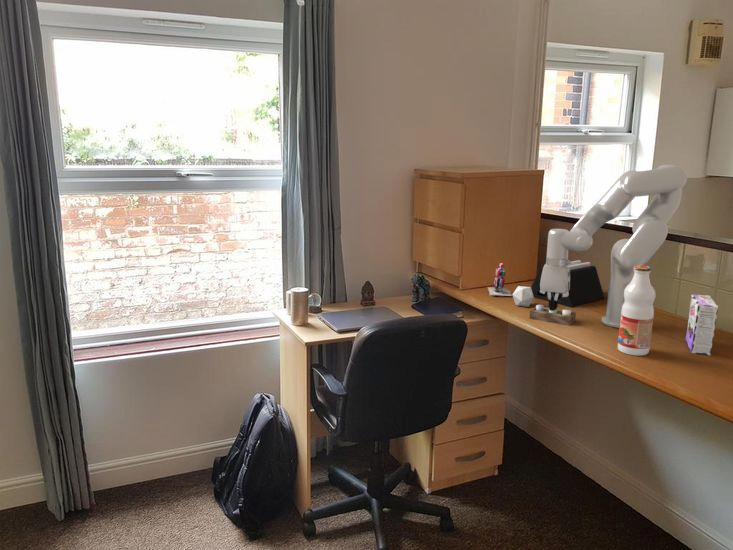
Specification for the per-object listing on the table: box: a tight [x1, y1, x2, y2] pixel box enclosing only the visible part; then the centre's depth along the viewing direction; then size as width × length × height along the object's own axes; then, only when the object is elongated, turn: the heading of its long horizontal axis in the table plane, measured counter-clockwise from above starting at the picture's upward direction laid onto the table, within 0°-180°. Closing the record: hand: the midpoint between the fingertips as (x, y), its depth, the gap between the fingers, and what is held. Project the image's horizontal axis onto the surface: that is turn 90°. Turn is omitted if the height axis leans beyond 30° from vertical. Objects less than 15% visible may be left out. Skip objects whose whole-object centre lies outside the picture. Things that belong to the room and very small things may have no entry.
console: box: [529, 306, 577, 326], centre depth 219 cm, size 15×8×3 cm, turn 55°
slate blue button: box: [535, 304, 545, 311], centre depth 222 cm, size 3×3×4 cm
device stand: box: [530, 260, 605, 308], centre depth 248 cm, size 22×22×15 cm
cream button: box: [561, 308, 572, 316], centre depth 216 cm, size 3×3×4 cm
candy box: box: [685, 293, 719, 356], centre depth 188 cm, size 14×6×16 cm, turn 159°
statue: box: [487, 262, 513, 298], centre depth 254 cm, size 11×9×15 cm
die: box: [511, 285, 535, 308], centre depth 237 cm, size 8×9×10 cm
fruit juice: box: [617, 264, 656, 357], centre depth 183 cm, size 9×9×28 cm
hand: (552, 309), depth 219 cm, fingers closed
